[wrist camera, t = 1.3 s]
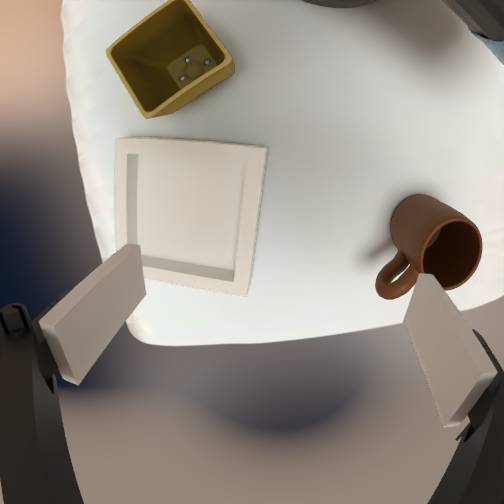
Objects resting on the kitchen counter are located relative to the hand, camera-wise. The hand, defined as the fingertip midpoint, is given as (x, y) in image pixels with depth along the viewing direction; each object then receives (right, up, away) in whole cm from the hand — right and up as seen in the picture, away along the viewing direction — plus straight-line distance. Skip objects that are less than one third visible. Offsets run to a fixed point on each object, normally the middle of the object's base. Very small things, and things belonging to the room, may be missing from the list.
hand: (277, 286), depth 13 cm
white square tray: (-8, +6, +21) cm, 23 cm away
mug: (+17, +4, +19) cm, 25 cm away
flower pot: (-7, +21, +15) cm, 27 cm away
